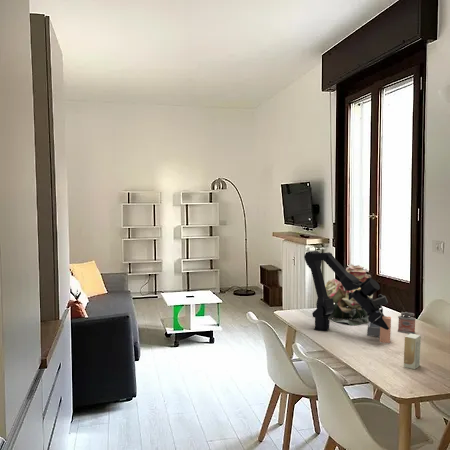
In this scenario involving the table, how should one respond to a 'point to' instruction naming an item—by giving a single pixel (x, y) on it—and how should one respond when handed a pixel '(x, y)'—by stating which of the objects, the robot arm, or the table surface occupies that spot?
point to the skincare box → (412, 351)
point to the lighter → (406, 323)
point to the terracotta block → (383, 332)
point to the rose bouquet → (340, 297)
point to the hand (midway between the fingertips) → (388, 326)
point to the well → (373, 329)
